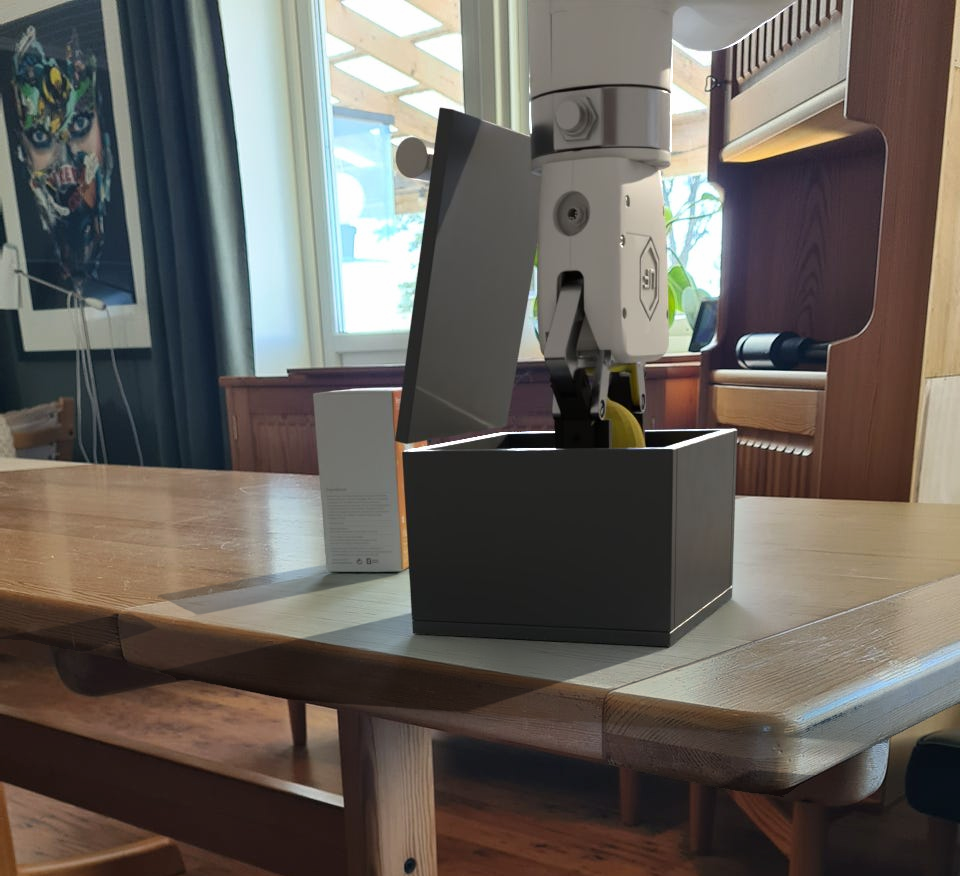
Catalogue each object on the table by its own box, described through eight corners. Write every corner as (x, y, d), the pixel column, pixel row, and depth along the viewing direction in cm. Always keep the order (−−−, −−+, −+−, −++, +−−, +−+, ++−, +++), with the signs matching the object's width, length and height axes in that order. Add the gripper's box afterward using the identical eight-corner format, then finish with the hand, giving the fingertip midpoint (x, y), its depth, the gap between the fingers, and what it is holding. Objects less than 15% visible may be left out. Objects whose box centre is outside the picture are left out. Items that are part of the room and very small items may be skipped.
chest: (732, 598, 82) (737, 428, 78) (670, 647, 69) (673, 448, 66) (506, 590, 88) (501, 432, 84) (412, 634, 75) (401, 451, 72)
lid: (555, 144, 76) (473, 130, 78) (453, 109, 64) (359, 93, 66) (506, 426, 84) (433, 408, 85) (407, 444, 71) (323, 423, 73)
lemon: (545, 542, 74) (543, 396, 72) (562, 529, 79) (561, 393, 76) (640, 542, 73) (642, 393, 70) (652, 529, 78) (653, 389, 75)
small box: (403, 573, 96) (392, 389, 91) (324, 573, 98) (309, 392, 93) (435, 556, 103) (426, 385, 99) (361, 556, 105) (349, 387, 100)
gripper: (618, 108, 60) (617, 506, 67) (708, 151, 74) (700, 474, 81) (471, 125, 63) (485, 505, 69) (586, 163, 77) (588, 474, 84)
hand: (601, 485), depth 75 cm, fingers closed on lemon, 5 cm apart
